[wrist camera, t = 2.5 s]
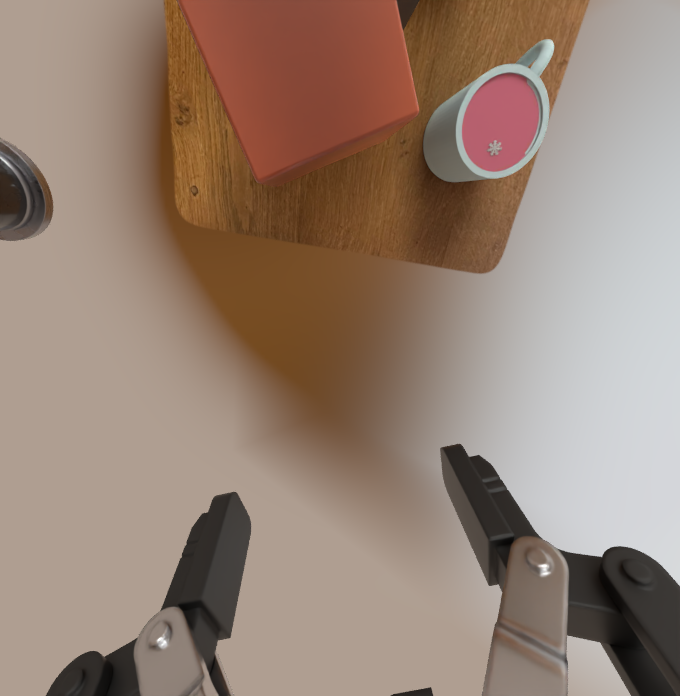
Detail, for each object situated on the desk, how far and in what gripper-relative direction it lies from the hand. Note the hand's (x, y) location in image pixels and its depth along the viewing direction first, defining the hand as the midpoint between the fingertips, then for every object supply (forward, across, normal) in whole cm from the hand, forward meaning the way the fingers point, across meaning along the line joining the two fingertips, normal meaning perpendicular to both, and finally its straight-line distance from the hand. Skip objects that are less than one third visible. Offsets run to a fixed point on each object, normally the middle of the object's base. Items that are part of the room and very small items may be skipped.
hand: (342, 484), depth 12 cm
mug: (+37, +22, +14) cm, 46 cm away
